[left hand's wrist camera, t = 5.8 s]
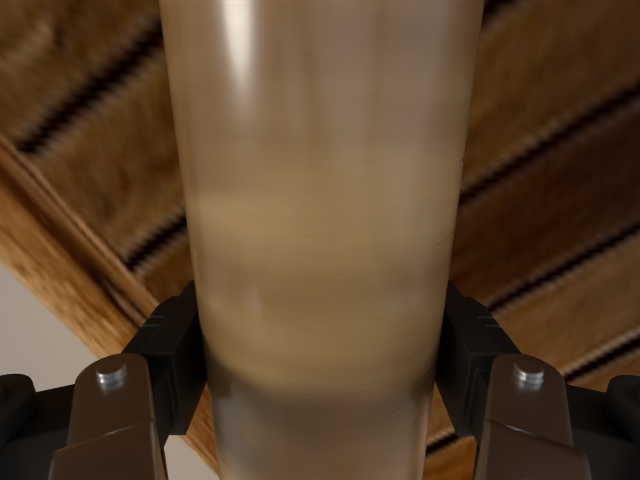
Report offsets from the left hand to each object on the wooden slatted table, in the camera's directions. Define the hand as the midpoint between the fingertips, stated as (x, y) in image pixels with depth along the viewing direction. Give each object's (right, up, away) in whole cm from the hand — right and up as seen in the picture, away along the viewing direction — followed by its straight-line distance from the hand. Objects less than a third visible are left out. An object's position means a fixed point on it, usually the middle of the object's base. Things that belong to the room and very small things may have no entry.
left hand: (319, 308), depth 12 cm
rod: (0, +8, -1) cm, 8 cm away
